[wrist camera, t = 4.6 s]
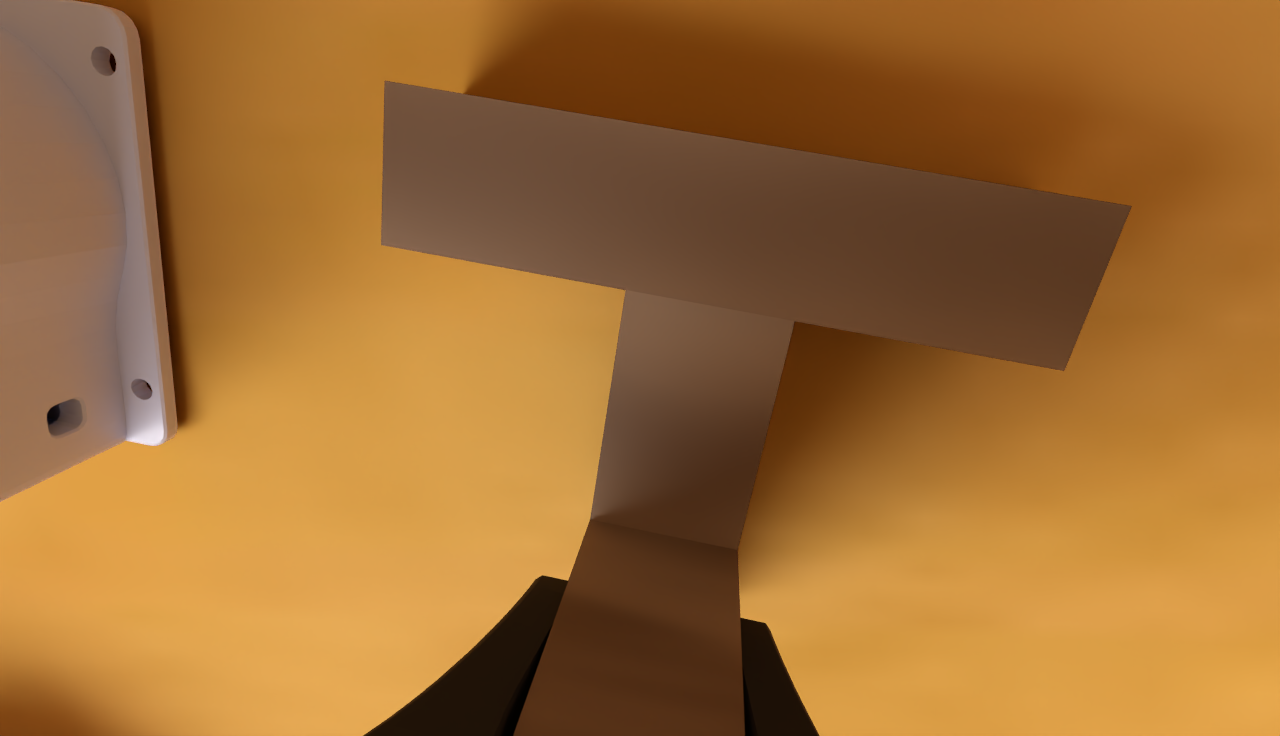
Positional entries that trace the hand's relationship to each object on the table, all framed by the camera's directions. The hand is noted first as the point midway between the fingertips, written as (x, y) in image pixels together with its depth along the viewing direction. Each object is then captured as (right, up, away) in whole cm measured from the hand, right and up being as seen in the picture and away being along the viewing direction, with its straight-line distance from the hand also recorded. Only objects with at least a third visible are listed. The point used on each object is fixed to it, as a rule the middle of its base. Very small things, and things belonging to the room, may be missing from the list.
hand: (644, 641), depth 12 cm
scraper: (+1, +4, +2) cm, 5 cm away
